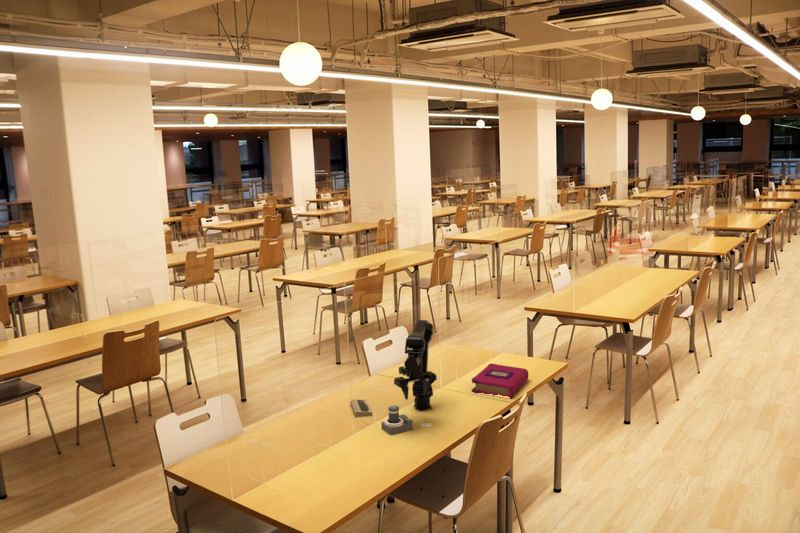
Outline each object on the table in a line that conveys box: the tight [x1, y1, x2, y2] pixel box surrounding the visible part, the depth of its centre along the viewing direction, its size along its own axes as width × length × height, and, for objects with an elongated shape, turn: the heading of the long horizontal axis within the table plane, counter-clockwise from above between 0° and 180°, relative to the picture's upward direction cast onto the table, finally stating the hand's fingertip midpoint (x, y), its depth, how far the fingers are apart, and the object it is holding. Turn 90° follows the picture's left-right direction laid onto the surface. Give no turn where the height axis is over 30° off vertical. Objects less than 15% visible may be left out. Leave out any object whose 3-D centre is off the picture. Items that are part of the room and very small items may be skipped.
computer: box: [349, 398, 373, 418], centre depth 318 cm, size 16×8×3 cm, turn 12°
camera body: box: [381, 413, 414, 436], centre depth 297 cm, size 11×8×5 cm
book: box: [471, 363, 529, 398], centre depth 346 cm, size 21×28×8 cm
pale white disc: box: [420, 421, 433, 429], centre depth 301 cm, size 5×5×1 cm
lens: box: [387, 405, 400, 424], centre depth 295 cm, size 5×5×7 cm
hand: (415, 397), depth 301 cm, fingers open, 9 cm apart
